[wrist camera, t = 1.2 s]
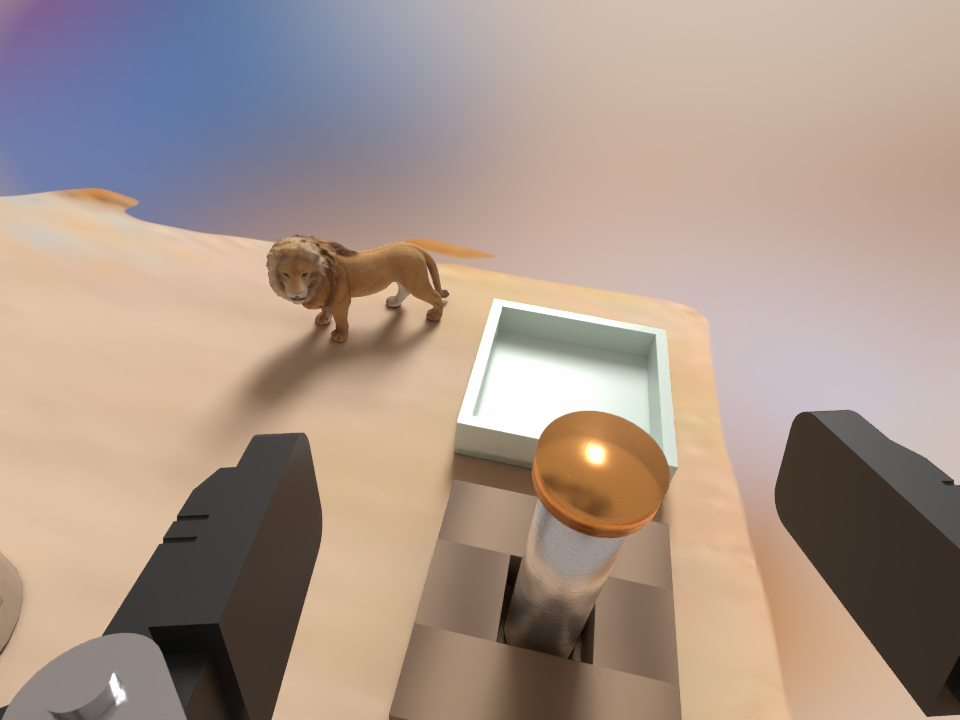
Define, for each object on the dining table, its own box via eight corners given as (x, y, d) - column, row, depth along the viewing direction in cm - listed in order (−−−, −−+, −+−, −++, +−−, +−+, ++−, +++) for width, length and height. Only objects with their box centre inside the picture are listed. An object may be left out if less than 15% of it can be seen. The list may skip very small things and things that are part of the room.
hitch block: (390, 737, 25) (388, 715, 23) (451, 509, 34) (454, 479, 32) (663, 806, 24) (686, 789, 22) (652, 552, 33) (668, 524, 31)
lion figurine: (294, 369, 42) (275, 265, 36) (270, 329, 45) (249, 227, 39) (463, 314, 48) (471, 218, 42) (432, 282, 52) (435, 189, 46)
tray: (454, 452, 37) (456, 422, 35) (490, 327, 47) (494, 298, 45) (662, 496, 36) (677, 467, 34) (654, 358, 46) (665, 329, 44)
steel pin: (487, 669, 28) (528, 500, 18) (502, 580, 31) (544, 400, 21) (581, 691, 27) (674, 531, 18) (586, 599, 31) (666, 424, 21)
